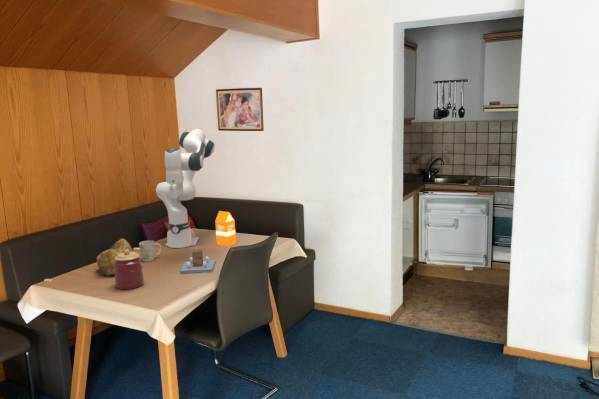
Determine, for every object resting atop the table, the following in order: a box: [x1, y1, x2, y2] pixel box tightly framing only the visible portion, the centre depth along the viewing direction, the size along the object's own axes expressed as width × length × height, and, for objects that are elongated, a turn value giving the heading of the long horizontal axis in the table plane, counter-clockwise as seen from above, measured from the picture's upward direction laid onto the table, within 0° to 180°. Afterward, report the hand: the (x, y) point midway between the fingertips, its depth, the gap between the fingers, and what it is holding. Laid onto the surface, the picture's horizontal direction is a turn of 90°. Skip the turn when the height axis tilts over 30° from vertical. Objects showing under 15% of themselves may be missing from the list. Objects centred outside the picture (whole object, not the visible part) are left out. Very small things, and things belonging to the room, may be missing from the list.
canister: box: [113, 249, 145, 290], centre depth 240 cm, size 13×13×18 cm
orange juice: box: [214, 210, 237, 247], centre depth 306 cm, size 8×9×20 cm
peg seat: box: [179, 255, 217, 275], centre depth 263 cm, size 16×16×4 cm
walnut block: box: [191, 248, 204, 267], centre depth 262 cm, size 4×4×8 cm
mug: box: [138, 240, 162, 262], centre depth 282 cm, size 8×13×10 cm, turn 137°
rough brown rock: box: [96, 237, 134, 276], centre depth 265 cm, size 23×17×15 cm
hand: (176, 204), depth 272 cm, fingers open, 8 cm apart
